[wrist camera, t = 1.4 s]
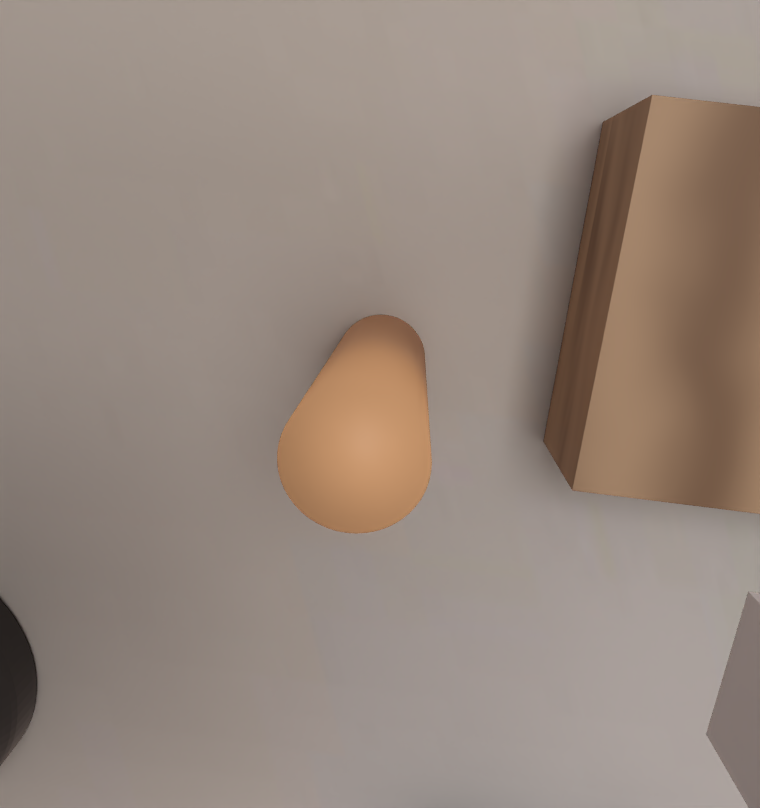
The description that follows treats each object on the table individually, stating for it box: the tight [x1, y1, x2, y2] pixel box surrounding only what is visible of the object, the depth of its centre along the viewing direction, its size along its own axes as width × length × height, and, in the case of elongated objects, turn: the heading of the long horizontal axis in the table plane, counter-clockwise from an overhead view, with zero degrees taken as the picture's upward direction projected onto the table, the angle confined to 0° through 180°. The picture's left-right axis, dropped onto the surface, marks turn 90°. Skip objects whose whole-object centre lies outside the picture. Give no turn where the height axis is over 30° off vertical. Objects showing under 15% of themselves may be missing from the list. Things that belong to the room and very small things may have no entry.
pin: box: [277, 315, 432, 533], centre depth 24 cm, size 4×4×14 cm
